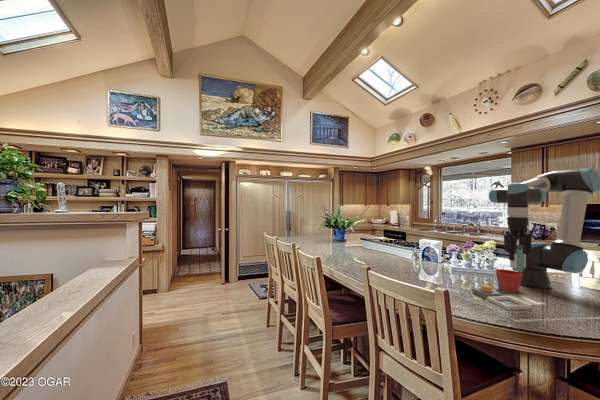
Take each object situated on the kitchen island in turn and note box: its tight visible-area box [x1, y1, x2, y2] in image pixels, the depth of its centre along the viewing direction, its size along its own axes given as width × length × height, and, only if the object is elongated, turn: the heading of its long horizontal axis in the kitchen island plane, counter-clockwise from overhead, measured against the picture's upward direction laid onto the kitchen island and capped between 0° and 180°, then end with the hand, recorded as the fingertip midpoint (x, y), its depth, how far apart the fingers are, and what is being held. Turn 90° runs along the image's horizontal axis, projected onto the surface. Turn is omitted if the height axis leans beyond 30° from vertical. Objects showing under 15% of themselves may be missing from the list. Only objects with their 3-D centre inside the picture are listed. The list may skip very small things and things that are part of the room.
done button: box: [480, 284, 493, 293], centre depth 128 cm, size 4×4×4 cm
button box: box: [471, 287, 502, 300], centre depth 128 cm, size 8×8×3 cm
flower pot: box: [495, 268, 522, 293], centre depth 138 cm, size 11×11×10 cm
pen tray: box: [486, 295, 533, 311], centre depth 117 cm, size 11×11×2 cm
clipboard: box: [501, 293, 546, 306], centre depth 124 cm, size 12×14×1 cm
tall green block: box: [512, 243, 523, 272], centre depth 125 cm, size 4×4×12 cm
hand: (517, 267), depth 125 cm, fingers closed on tall green block, 4 cm apart
